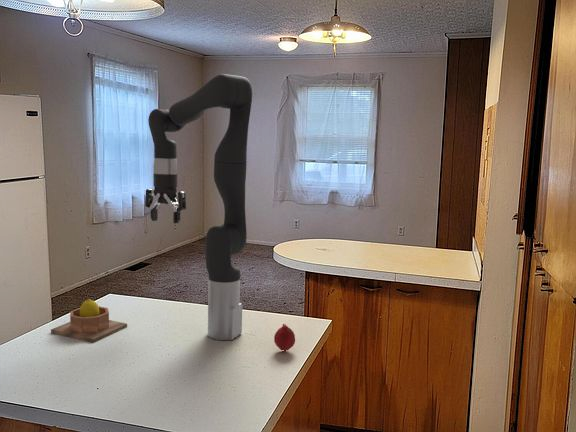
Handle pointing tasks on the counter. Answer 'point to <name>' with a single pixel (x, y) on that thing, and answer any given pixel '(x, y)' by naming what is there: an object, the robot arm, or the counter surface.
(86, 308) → the lemon
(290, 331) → the onion
